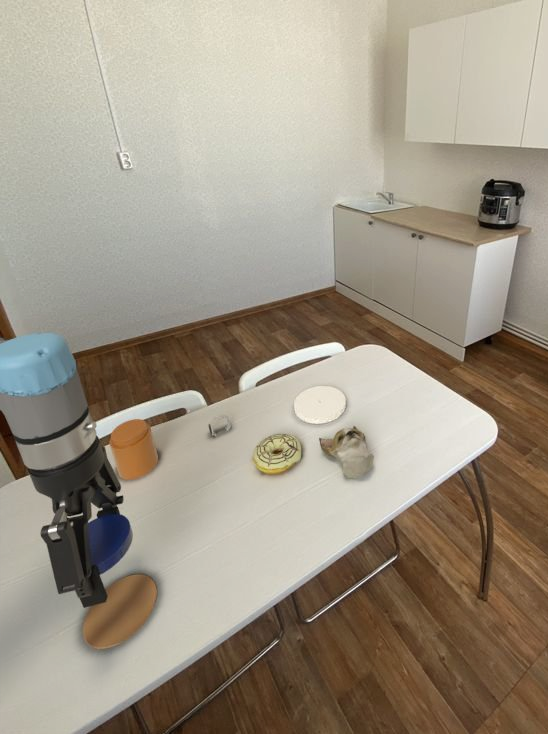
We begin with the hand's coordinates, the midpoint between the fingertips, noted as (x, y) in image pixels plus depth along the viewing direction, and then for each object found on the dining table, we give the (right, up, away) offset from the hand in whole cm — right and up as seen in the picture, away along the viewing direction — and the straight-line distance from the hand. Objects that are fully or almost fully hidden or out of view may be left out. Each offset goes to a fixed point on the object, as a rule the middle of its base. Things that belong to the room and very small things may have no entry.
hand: (107, 568), depth 57 cm
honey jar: (-13, 0, +30) cm, 33 cm away
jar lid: (0, +5, -2) cm, 6 cm away
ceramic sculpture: (+35, +1, +31) cm, 47 cm away
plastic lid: (+27, +7, +48) cm, 55 cm away
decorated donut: (+19, +1, +32) cm, 37 cm away
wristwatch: (+3, +4, +40) cm, 40 cm away
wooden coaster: (0, -9, +3) cm, 10 cm away
